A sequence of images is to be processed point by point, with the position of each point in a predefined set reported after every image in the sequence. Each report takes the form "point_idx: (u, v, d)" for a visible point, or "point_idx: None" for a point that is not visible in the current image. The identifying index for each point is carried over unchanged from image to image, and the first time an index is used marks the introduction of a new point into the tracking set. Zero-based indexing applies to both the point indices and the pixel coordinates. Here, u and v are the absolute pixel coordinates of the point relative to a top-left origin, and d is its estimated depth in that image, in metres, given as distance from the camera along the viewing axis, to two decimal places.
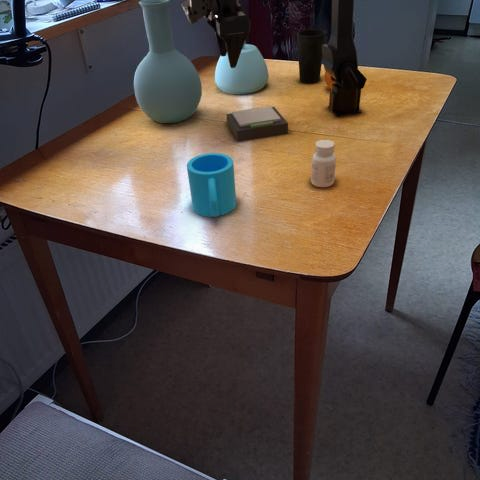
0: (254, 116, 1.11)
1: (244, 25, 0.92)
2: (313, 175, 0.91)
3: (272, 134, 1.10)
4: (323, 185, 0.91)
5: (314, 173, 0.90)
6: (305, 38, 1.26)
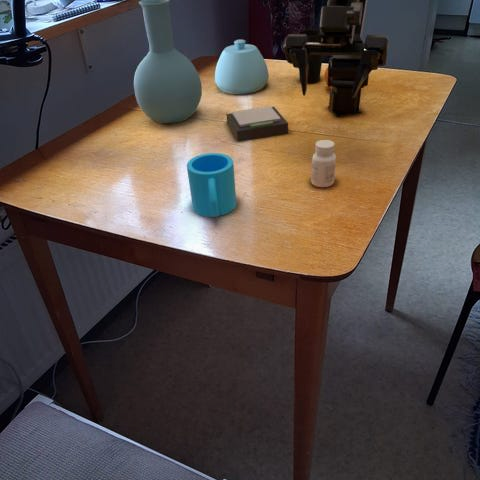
0: (254, 116, 1.11)
1: (386, 56, 0.89)
2: (313, 175, 0.91)
3: (272, 134, 1.10)
4: (323, 185, 0.91)
5: (314, 173, 0.90)
6: None
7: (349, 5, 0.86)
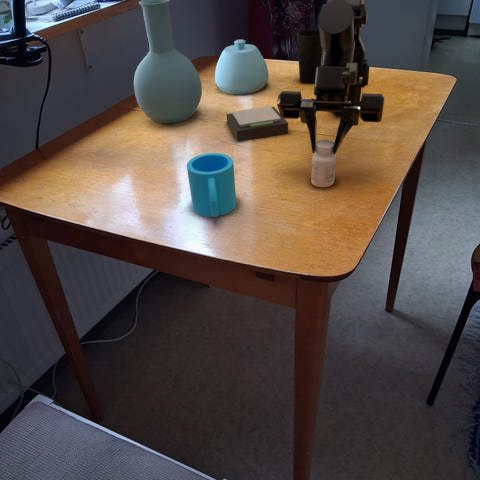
0: (254, 116, 1.11)
1: None
2: (313, 175, 0.91)
3: (272, 134, 1.10)
4: (323, 185, 0.91)
5: (314, 173, 0.90)
6: (305, 38, 1.26)
7: (343, 63, 0.85)
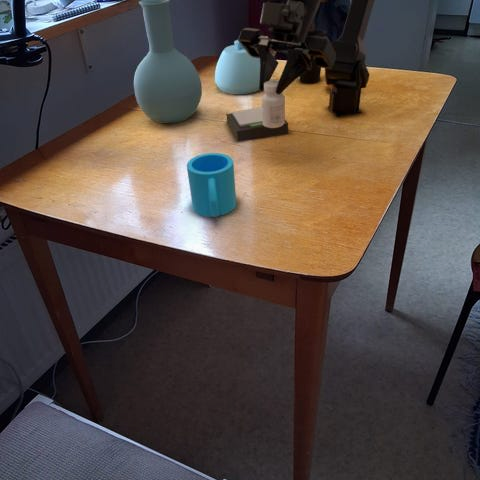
0: (254, 116, 1.11)
1: (333, 59, 0.87)
2: (262, 114, 0.94)
3: (272, 134, 1.10)
4: (269, 125, 0.94)
5: (262, 113, 0.94)
6: None
7: None
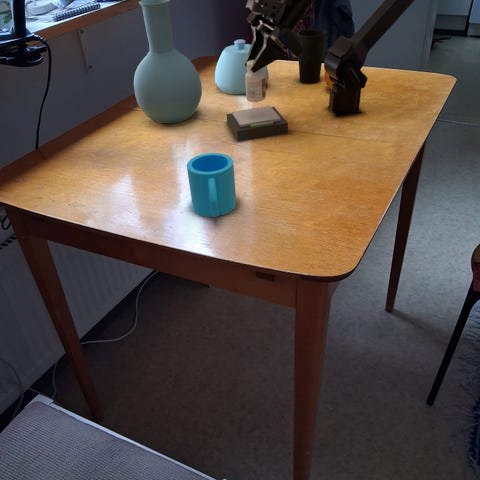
0: (254, 116, 1.11)
1: (297, 49, 0.96)
2: None
3: (272, 134, 1.10)
4: (247, 99, 1.08)
5: None
6: (305, 38, 1.26)
7: None
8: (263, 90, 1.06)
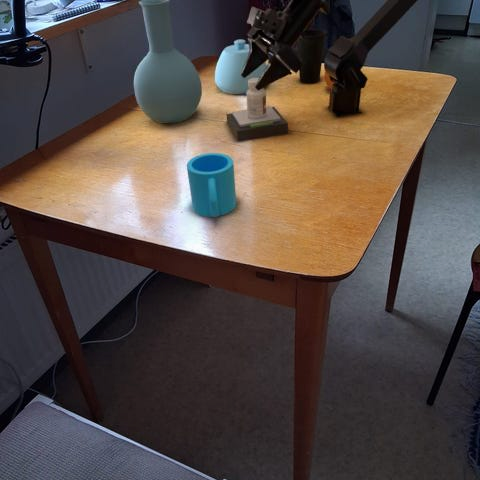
0: None
1: (296, 65, 0.98)
2: None
3: (272, 134, 1.10)
4: (248, 115, 1.11)
5: None
6: (305, 38, 1.26)
7: (290, 13, 0.98)
8: (264, 107, 1.09)
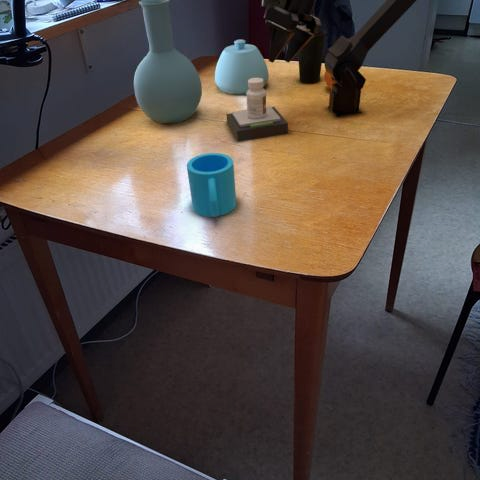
0: None
1: (284, 20, 0.95)
2: None
3: (272, 134, 1.10)
4: (248, 115, 1.11)
5: None
6: None
7: None
8: (264, 107, 1.09)
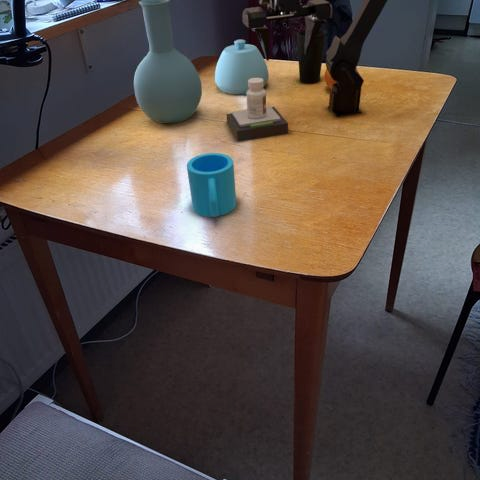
0: None
1: (247, 21, 1.01)
2: None
3: (272, 134, 1.10)
4: (248, 115, 1.11)
5: None
6: None
7: None
8: (264, 107, 1.09)
